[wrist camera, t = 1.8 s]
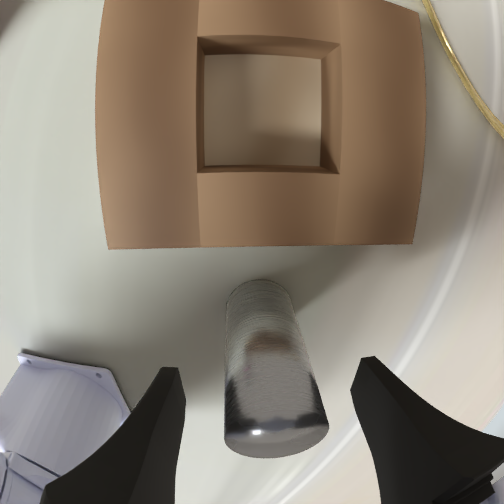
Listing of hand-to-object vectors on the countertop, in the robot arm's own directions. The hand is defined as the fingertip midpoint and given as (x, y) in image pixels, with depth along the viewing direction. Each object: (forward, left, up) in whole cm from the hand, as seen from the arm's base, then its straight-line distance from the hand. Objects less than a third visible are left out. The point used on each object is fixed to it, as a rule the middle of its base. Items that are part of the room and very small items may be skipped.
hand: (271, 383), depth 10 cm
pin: (0, 0, -6) cm, 6 cm away
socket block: (0, +10, -5) cm, 11 cm away
